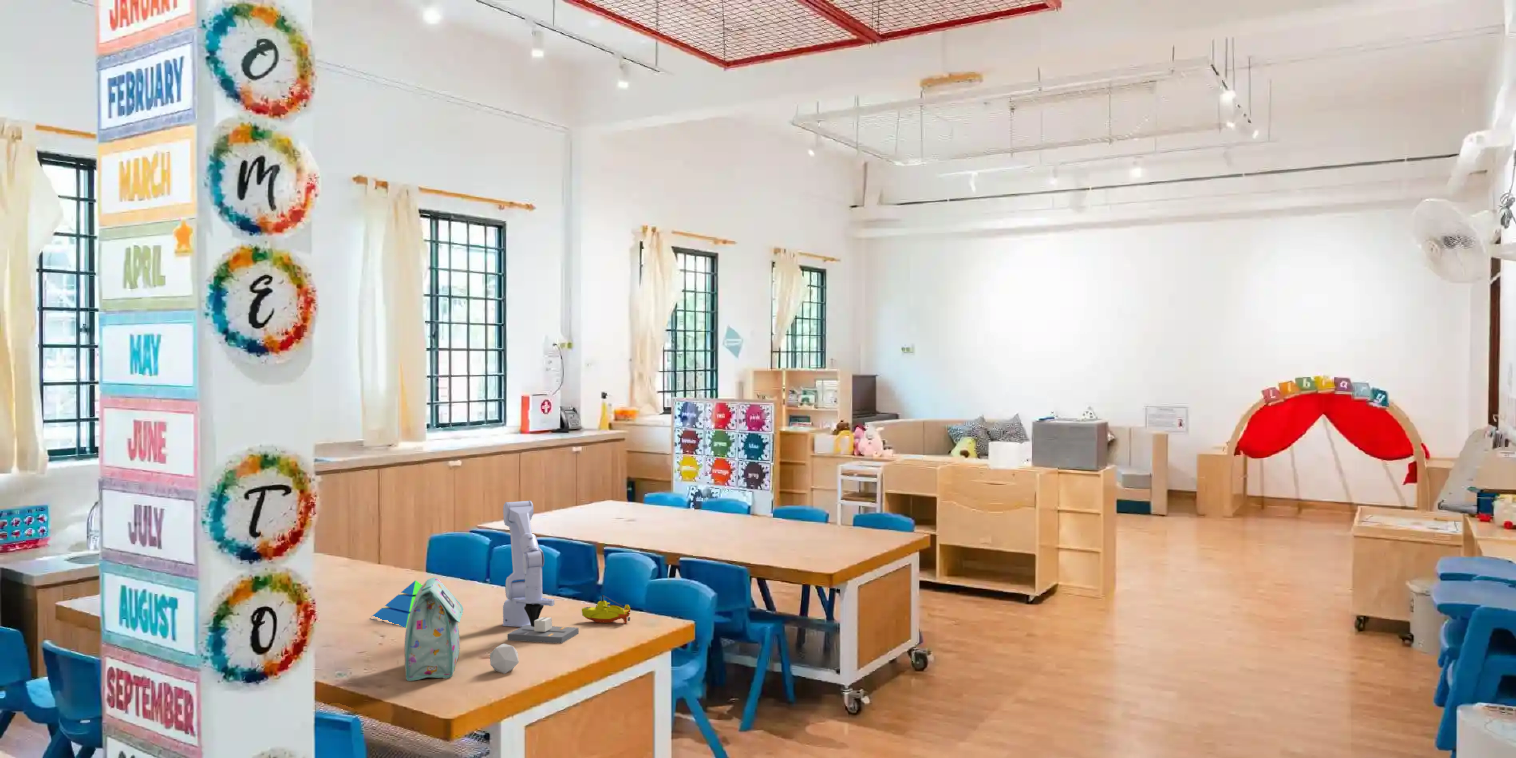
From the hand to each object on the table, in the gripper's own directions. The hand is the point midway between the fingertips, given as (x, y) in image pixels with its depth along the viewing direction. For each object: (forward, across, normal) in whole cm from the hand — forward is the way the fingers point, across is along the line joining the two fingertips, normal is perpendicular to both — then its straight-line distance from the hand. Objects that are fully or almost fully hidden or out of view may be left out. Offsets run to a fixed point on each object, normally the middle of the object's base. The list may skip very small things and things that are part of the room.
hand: (534, 625), depth 339 cm
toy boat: (+4, +16, +23) cm, 29 cm away
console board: (+3, +3, 0) cm, 5 cm away
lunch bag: (+4, -12, -42) cm, 44 cm away
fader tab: (+1, +3, 0) cm, 3 cm away
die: (+4, +10, -39) cm, 40 cm away
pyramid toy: (+4, -58, +17) cm, 60 cm away
